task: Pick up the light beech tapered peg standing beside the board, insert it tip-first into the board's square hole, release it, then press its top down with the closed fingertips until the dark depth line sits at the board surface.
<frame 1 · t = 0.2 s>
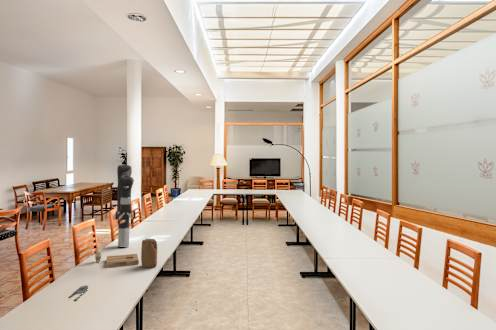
hand: (125, 224, 240), 29 cm above the table, fingers open, 8 cm apart
peg: (98, 262, 240), on the table
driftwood: (78, 294, 185), on the table
block: (149, 266, 233), on the table
board: (129, 261, 243), on the table
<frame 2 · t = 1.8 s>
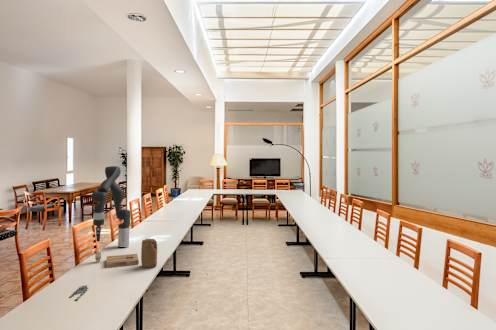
hand: (98, 239, 239), 17 cm above the table, fingers open, 8 cm apart
nothing on the table moved.
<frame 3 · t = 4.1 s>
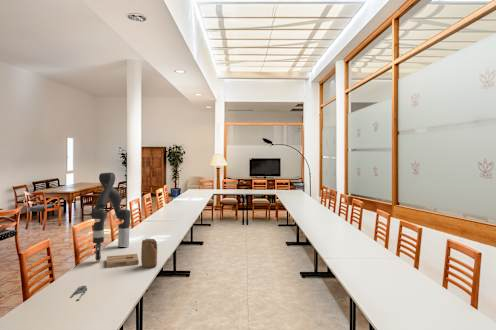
hand: (98, 258, 240), 3 cm above the table, fingers closed on peg, 4 cm apart
peg: (98, 262, 240), on the table, touching gripper
everything else where it was.
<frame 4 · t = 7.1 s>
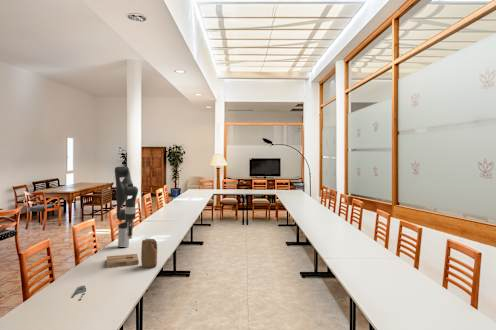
hand: (129, 234, 242), 21 cm above the table, fingers closed on peg, 4 cm apart
peg: (129, 238, 242), point 18 cm above the table, touching gripper
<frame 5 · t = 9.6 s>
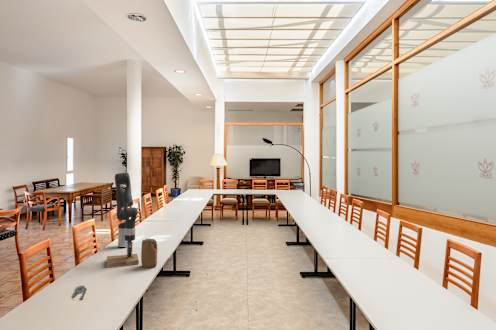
hand: (129, 256, 243), 4 cm above the table, fingers closed on peg, 4 cm apart
peg: (129, 259, 243), point 2 cm above the table, touching gripper
when the fingers open (4 cm above the table, at t = 10.3 s): peg drops 1 cm, resting in board.
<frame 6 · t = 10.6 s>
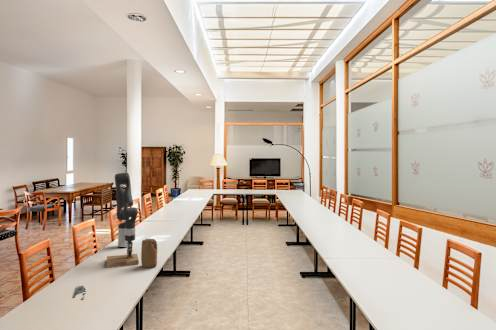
hand: (129, 255, 243), 5 cm above the table, fingers open, 7 cm apart
peg: (129, 261, 243), resting in board
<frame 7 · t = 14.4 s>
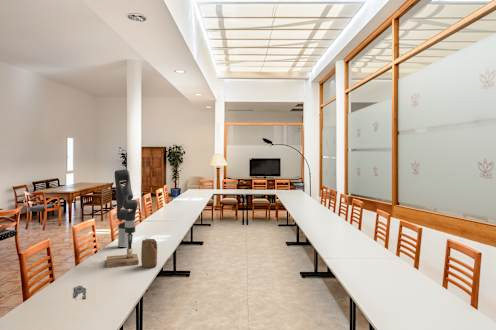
hand: (129, 248, 243), 10 cm above the table, fingers closed
peg: (129, 261, 243), resting in board, touching gripper
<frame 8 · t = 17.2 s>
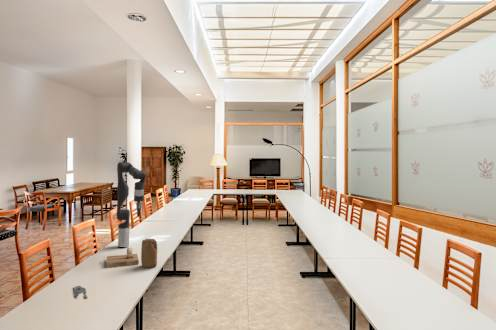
hand: (138, 216, 258), 32 cm above the table, fingers closed
peg: (129, 261, 243), resting in board
at the end: peg 0.1 cm off-centre on the board, point 0.0 cm above the board's base; peg tilted 0°; the gripper is holding nothing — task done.
